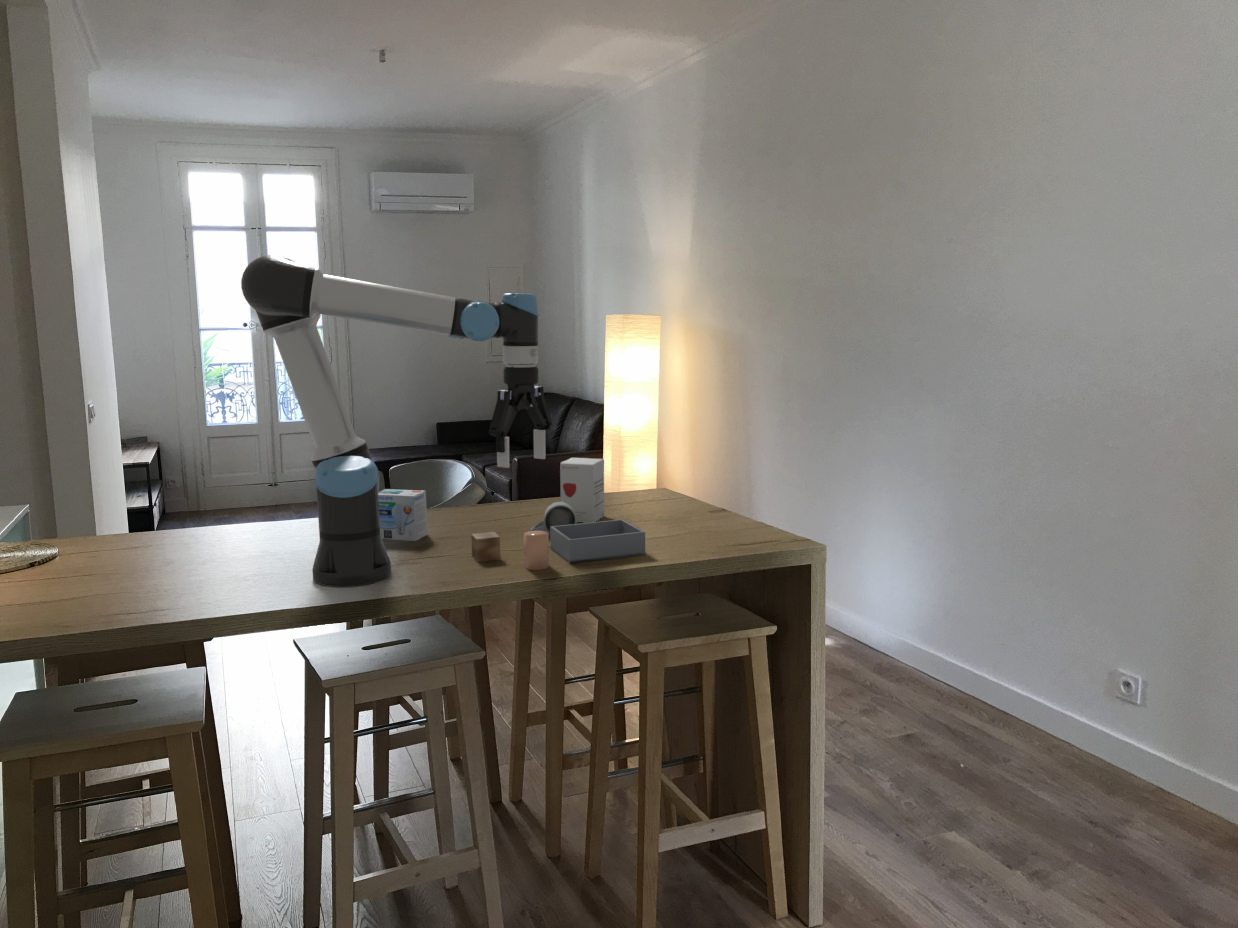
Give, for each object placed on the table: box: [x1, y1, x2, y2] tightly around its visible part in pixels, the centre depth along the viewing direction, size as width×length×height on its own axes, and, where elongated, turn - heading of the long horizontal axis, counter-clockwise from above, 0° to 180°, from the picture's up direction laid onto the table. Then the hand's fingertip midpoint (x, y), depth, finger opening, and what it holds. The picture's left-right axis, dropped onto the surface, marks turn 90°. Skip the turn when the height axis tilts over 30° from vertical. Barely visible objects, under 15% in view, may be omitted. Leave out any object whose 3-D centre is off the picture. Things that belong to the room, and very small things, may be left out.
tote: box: [549, 519, 646, 564], centre depth 203 cm, size 17×13×5 cm
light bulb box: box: [378, 488, 429, 542], centre depth 217 cm, size 11×7×11 cm, turn 76°
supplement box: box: [559, 457, 605, 523], centre depth 233 cm, size 9×9×15 cm
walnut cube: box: [470, 531, 501, 563], centre depth 199 cm, size 5×5×5 cm
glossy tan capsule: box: [523, 530, 550, 571], centre depth 192 cm, size 5×5×7 cm
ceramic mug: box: [530, 501, 578, 535], centre depth 219 cm, size 11×8×8 cm
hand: (522, 462), depth 205 cm, fingers open, 13 cm apart
